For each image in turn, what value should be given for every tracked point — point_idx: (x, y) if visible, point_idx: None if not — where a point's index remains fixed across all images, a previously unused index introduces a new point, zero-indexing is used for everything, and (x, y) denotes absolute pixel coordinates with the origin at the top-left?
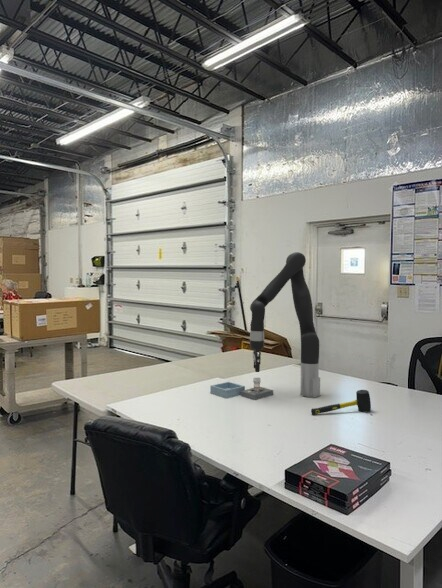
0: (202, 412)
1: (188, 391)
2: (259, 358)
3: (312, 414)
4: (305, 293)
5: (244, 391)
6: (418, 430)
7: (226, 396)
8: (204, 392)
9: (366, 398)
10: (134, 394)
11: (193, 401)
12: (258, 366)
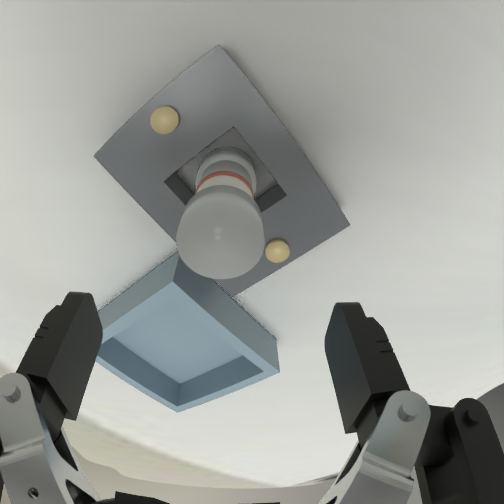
0: (418, 385)
1: (166, 424)
2: (502, 493)
3: None
4: None
5: (245, 276)
6: None
7: (276, 346)
8: None
9: None
10: (210, 477)
11: (296, 416)
12: (399, 381)
